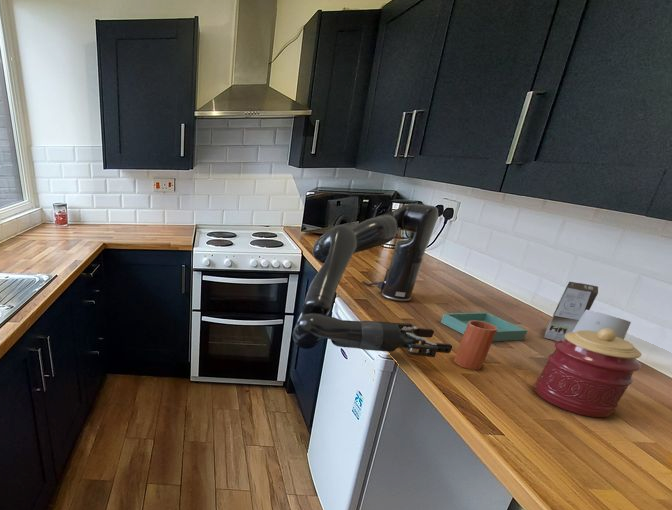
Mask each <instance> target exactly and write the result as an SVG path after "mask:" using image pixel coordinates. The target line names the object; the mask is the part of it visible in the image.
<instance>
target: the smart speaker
mask: <svg viewBox="0 0 672 510" xmlns="http://www.w3.org/2000/svg"><path fill="white" fill-rule="evenodd" d="M631 323H632V321H629V320H626V319H624V318H621V317H616V316H612V315H610V314H606V313H602V312H599V311H595V310H591V309H590V310H585V312H584V314H583V315H582V317H581V318H580V320H579V321H578V323H577V325H576V326H575V328H574V329H573V331H572V332H577V331H582V330H584V331H594V332H598V331H599V330H601V329H604V328H609V329H612V330H614V331H615V332H616V337H618V338H621V339H623V340H625V337H626V335H627V333H628V330H629V328H630V326H631Z"/></svg>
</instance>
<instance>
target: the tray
mask: <svg viewBox="0 0 672 510" xmlns="http://www.w3.org/2000/svg"><path fill="white" fill-rule="evenodd" d="M473 320H475V321H482V322H486V323H489V324H492V325H494V326H496V327H497V332H496V334H495V337H494V339H493V341H492V342H501V341H502V342H505V341H506V342H507V341H524V340H525V337H526V335H527V333H528V329H525V328H523V327H521V326H519V325H516V324H514V323H512V322H510V321H507V320H505V319H503V318H501V317H498V316H496V315H495V314H492V313H489V312H487V311H483V312H451V313H450V312H449V313H443V315H442V318H441V320H440V324H443V325H445V326H446V327H449V328H450V329H452V330H454V331H456V332H458V333H460V334H461V335H463V334H464V332H465V329H466V327H467V324H468V322H469V321H473Z"/></svg>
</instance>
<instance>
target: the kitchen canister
mask: <svg viewBox="0 0 672 510" xmlns="http://www.w3.org/2000/svg"><path fill="white" fill-rule="evenodd" d="M565 338H566V339H565V340H559V341H555V342H554V347H555V350H554V351H553V353H550V354H549V355H548V356H547V361H546V363H545V366H544V367H543V369H542V371H541V373H540V374H539V376H538V377H537V379H536V381H535V383H534V384H535V386H534V391H535V393H536V394H537V395H538V396H539V397H540V398H541V399H543V400H544V401H546V402H548V403H550V404H552V405H554V406H555V407H558V408H560V409H563V410H566V411H568V412H571V413H574V414H578V415H582V416H586V417H592V418H606V417H609V416H610V415H612V413H613V412H615V411H616V410H617V408H618V406H619V402H620V401H621V399H622V397H623V396H624V394H625V393H626V391H627V389H628V388H629V386H630V385H631V384H632V383H633V381H634V379H633V374H634V372H636V371H637V372H638V371H639V370H641V368H642V364H641V363H640V362H639V360H638V359H639V358H641V356H642V352H641V351H640V350H639V349H637V348H636V347H635V346H634V345H633V344H632V343H631V342H629V341H627V340H625V339H624V340H623V339H621V338H618V337H616V332H615V331H614V330H612V329H609V328H604V329H601V330H599V331H598V332H594V331H584V330H582V331H577V332H570V333H566V334H565Z"/></svg>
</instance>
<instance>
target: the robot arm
mask: <svg viewBox="0 0 672 510" xmlns="http://www.w3.org/2000/svg"><path fill="white" fill-rule="evenodd" d="M438 218H439V209H438V208H437V207H436V206H434V205H429V204H428V205H427V204H421V203H413V202H412V203H407V204H404V205H402V206H400V207H398V208H397V209H394V210H393V211H390V212H387V213H383V214H380V215H376V216H373V217H370V218H367V219H365V220H363V221H360V222H359V223H357V224H356V225H354V226H352V227H349V226H348V225H346V224H339V225H336V226H334V227H332V228H330V229H329V230H327V231H326V232H325V233H324V234H322V235H320V236H319V237H318V238H317V239H316V241H315V242H314V244H313V246H312V255H313V257H314V259H316V261H318V262H319V263H321V264H322V265H321V267H320V269H319V270H318V272H317V273H316V274H315V276H314V277H313V279H312V280H311V283H310V284H309V287H308V289H307V292H306V295H305V297H304V300H303V305H302V309H301V312H300V314H299V316H298V319H297V320H296V323H295V325H294V328H293V331H292V340H293V342H294V343H295V345H296V346H298V347H299V348H301V349H303V350H304V349H306V350H310V349H313V348H315V347H316V346H317V345H318V344H319V343H320V342H321V340H322V339H327V340H330V341H331V343H332V345H333V346H335V347H338V348H339V347H340V348H349V349H350V348H351V349H359V350H364V351H375V352H376V351H377V352H389V353H392V352H396V350H398V349H399V348H402V349H404V350H405V349H406V350H408V352H407V354H408V355H410V356H419V357H429V358H435V357H436V355H437V353H440V354H450V353H451V351H452V349H453V345H452V344H450V343H443V342H432V341H429V340H427V338H430V339H431V338H432V337H433V336H434V333H435V331H434V329H432V328H423V327H422V328H421V327H418V326H413V323H407V322H405V323H404V322H390V321H375V320H348V319H347V320H346V319H339V318H337V317H334V316H330V315H329V314H330V312H331V309H332V305H333V303H334V299H335V295H336V292H337V289H338V286H339V284H340V282H341V280H342V277H343V275H344V272H345V270H346V268H347V267H348V264H349V263H350V260H351V259H352V257H353V255H354V254H357V253H360V252H364V251H367V250H371V249H373V248H377V247H381V246H382V245H385V244H387V243H390V242H391V241H393V240H394V239H395V238H396V237H397V234H398V231H405V232H410V233H414V236H413V237H412V238H410V239H405V240H399V241H397V242H396V243H395V245H394V250H393V253H392V256H391V260H390V264H389V268H387V269H386V271H385V275H384V278H383V281H378V282H371V283H368V282H366V281H364V280H363V281H362V282H361V283H362V284H364V285H365V286H369V287H370V286H375V285H377V289H380V294H381V296H382V297H383V298H385V299H386V300H390V301H393V302H405V303H407V302H410V301H411V298H412V295H413V291H414V288H415V285H416V282H417V278H418V275H419V272H420V268H421V266H422V263H423V259H424V255H425V253H426V250H427V248H428V246H429V243H430V242H431V238H432V235H433V232H434V230H435V227H436V225H437V222H438ZM419 343H420V344H419Z"/></svg>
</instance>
